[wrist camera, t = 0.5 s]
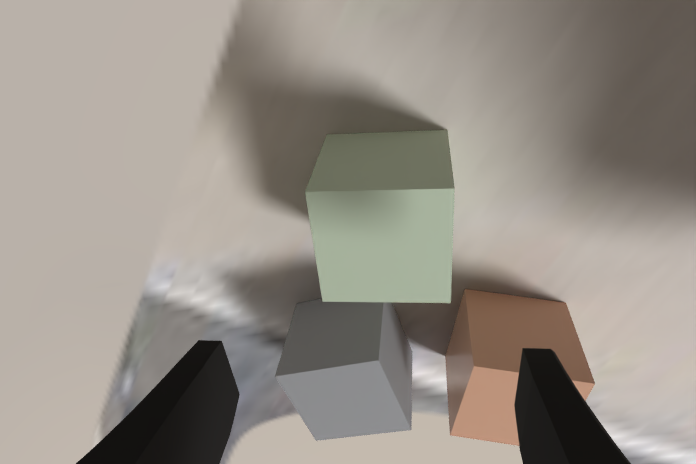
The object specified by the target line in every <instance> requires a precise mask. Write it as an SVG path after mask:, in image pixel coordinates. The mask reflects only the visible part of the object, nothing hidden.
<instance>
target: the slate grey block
mask: <svg viewBox="0 0 696 464" xmlns="http://www.w3.org/2000/svg"><path fill="white" fill-rule="evenodd" d="M275 377H276V379H277V380H278V382H279V384H280V385H281V387H282V388H283V390H284V391H285V393H286V395H287V396H288V398H289V399H290V401H291V402H292V404H293V405H294V407H295V409H296V410H297V412H298V413H299V415H300V416H301V418H302V419H303V421H304V422H305V424H306V426H307V427H308V429H309V430H310V432H311V433H312V435H313V437H314V438H315V440H326V439H334V438H343V437H351V436H361V435H370V434H379V433H388V432H396V431H406V430H411V418H412V350H411V347H410V345H409V343H408V340H407V338H406V335H405V333H404V330H403V328H402V326H401V323H400V321H399V318H398V316H397V314H396V311H395V309H394V306H393V304H392V302H322V299H317V300H312V301H307V302H302V303H297V304H296V308H295V311H294V314H293V318H292V321H291V324H290V328H289V331H288V334H287V338H286V341H285V345H284V348H283V351H282V355H281V358H280V361H279V365H278V368H277V371H276V375H275Z"/></svg>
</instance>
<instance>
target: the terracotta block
mask: <svg viewBox="0 0 696 464" xmlns="http://www.w3.org/2000/svg"><path fill="white" fill-rule="evenodd" d="M522 348H542V349H552V350H553V351H554V352H555V353H556V355H557V357H558V358H559V360H560V362H561V364H562V365H563V367H564V369H565V370H566V372H567V374H568V375H569V377H570V378H571V380H572V382H573V383H574V385H575V386H576V388H577V389H578V391H579V392H580V394H581V395H582V397H583V399H584V400H586V399H587V397H588V395H589V393H590V392H591V390H592V388H593V386H594V385H595V382H594V379H593V377H592V374H591V371H590V368H589V366H588V363H587V360H586V357H585V354H584V352H583V349H582V346H581V343H580V341H579V338H578V335H577V332H576V330H575V327H574V324H573V321H572V318H571V316H570V313H569V310H568V307H567V305H566V303H564V302H557V301H549V300H542V299H535V298H528V297H520V296H513V295H506V294H499V293H491V292H484V291H477V290H470V289H465V290H464V293H463V297H462V300H461V303H460V307H459V310H458V314H457V317H456V321H455V324H454V328H453V331H452V335H451V338H450V342H449V345H448V349H447V352H446V356H445V358H446V375H447V392H448V409H449V425H450V435H452V436H459V437H465V438H472V439H478V440H485V441H491V442H498V443H504V444H511V445H517V446H519V439H518V432H517V424H516V416H515V407H514V404H515V397H516V390H517V383H518V376H519V369H520V362H521V355H522Z"/></svg>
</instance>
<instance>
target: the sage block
mask: <svg viewBox="0 0 696 464" xmlns="http://www.w3.org/2000/svg"><path fill="white" fill-rule="evenodd" d="M305 196H306V202H307V208H308V214H309V220H310V227H311V233H312V239H313V245H314V252H315V258H316V264H317V270H318V277H319V283H320V289H321V295H322V302H399V303H451V281H452V250H453V219H454V180H453V172H452V164H451V156H450V148H449V140H448V131H447V130H426V131H401V132H376V133H352V134H327V135H326V138H325V141H324V143H323V146H322V148H321V151H320V154H319V156H318V159H317V162H316V164H315V167H314V169H313V172H312V175H311V177H310V180H309V183H308V185H307V188H306V190H305Z"/></svg>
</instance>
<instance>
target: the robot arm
mask: <svg viewBox="0 0 696 464" xmlns="http://www.w3.org/2000/svg"><path fill="white" fill-rule="evenodd" d="M238 399H239V391H238V388H237V385H236V382H235V379H234V376H233V373H232V370H231V367H230V364H229V361H228V358H227V355H226V352H225V349H224V346H223V343H222V341H203V340H199V341H198V342H197V343H196V344H195V345H194V346H193V347H192V348H191V349H190V350H189V351H188V352H187V353H186V354H185V355H184V356H183V358H182V359H181V360H180V361H179V362H178V363H177V364H176V365H175V366H174V367H173V368H172V369H171V370H170V372H169V373H168V374H167V375H166V376H165V377H164V378H163V379H162V380H161V381H160V382H159V383H158V384H157V385H156V387H155V388H154V389H153V390H152V391H151V392H150V393H149V394H148V395H147V396H146V397H145V398H144V399H143V400H142V401H141V402H140V403H139V404H138V405H137V406H136V407H135V408H134V409H133V410H132V411H131V412H130V413H129V414H128V415H127V416H126V417H125V418H124V419H123V420H122V421H121V422H120V423H119V424H118V425H117V426H116V427H115V428H114V429H113V430H112V431H111V432H110V433H109V434H108V435H107V436H106V437H105V438H104V439H103V440H101V441H100V442H99V443H98V444H97V445H96V446H95V447H94V448H93V449H92V450H91V451H90V452H88V453H87V454H86V455H85V456H84V457H83V458H82V459H81V460H80V461H78V462H77V463H76V464H219V463H220V460H221V458H222V455H223V452H224V449H225V447H226V444H227V441H228V438H229V436H230V432H231V428H232V424H233V420H234V416H235V412H236V408H237V403H238ZM514 407H515V416H516V424H517V432H518V439H519V446H520V452H521V456H522V460H523V464H631V463H630V462H629V461H628V460H627V458H626V457H625V456H624V454H623V453H622V452H621V450H620V449H619V448H618V446H617V445H616V444H615V443H614V441H613V440H612V438H611V437H610V436H609V434H608V433H607V431H606V430H605V429H604V427H603V426H602V424H601V423H600V422H599V420H598V419H597V418H596V416H595V415H594V413H593V412H592V410H591V409H590V407H589V406H588V405H587V403H586V402H585V400H584V399H583V397H582V395H581V394H580V392H579V391H578V389H577V388H576V386H575V385H574V383H573V382H572V380H571V378H570V377H569V375H568V374H567V372H566V370H565V369H564V367H563V365H562V364H561V362H560V360H559V358H558V357H557V355H556V353H555V352H554V351H553V350H552V349H542V348H522V355H521V362H520V369H519V376H518V383H517V390H516V397H515V404H514Z"/></svg>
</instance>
